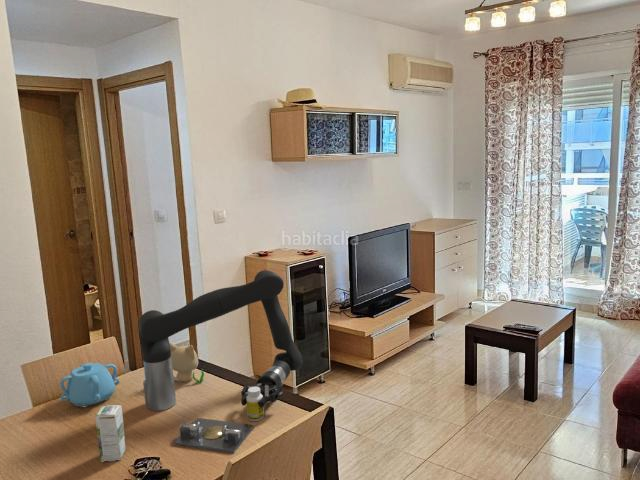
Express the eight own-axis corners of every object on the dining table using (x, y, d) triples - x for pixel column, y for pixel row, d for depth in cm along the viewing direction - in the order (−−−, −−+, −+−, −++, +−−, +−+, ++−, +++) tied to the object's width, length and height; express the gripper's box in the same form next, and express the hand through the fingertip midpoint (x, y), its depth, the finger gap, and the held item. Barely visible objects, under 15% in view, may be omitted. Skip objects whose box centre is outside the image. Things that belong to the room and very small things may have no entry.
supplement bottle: (261, 422, 163) (259, 393, 161) (245, 421, 164) (242, 392, 162) (266, 413, 168) (264, 385, 167) (250, 412, 169) (248, 385, 168)
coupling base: (173, 444, 153) (171, 430, 152) (197, 420, 166) (196, 407, 165) (233, 453, 147) (232, 438, 146) (254, 427, 160) (253, 414, 159)
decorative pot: (97, 412, 175) (92, 375, 172) (57, 409, 178) (51, 372, 176) (125, 390, 190) (121, 356, 188) (87, 387, 194) (83, 354, 192)
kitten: (210, 376, 199) (207, 339, 196) (197, 387, 189) (193, 349, 187) (177, 372, 203) (173, 337, 201) (162, 384, 194) (158, 346, 191)
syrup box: (106, 451, 151) (100, 405, 149) (127, 449, 152) (121, 404, 149) (100, 462, 146) (93, 415, 143) (121, 460, 146) (115, 413, 144)
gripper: (252, 368, 180) (230, 390, 164) (290, 372, 176) (271, 395, 160) (253, 388, 181) (231, 412, 165) (291, 392, 177) (273, 417, 161)
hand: (251, 403), depth 163 cm, fingers closed on supplement bottle, 5 cm apart
